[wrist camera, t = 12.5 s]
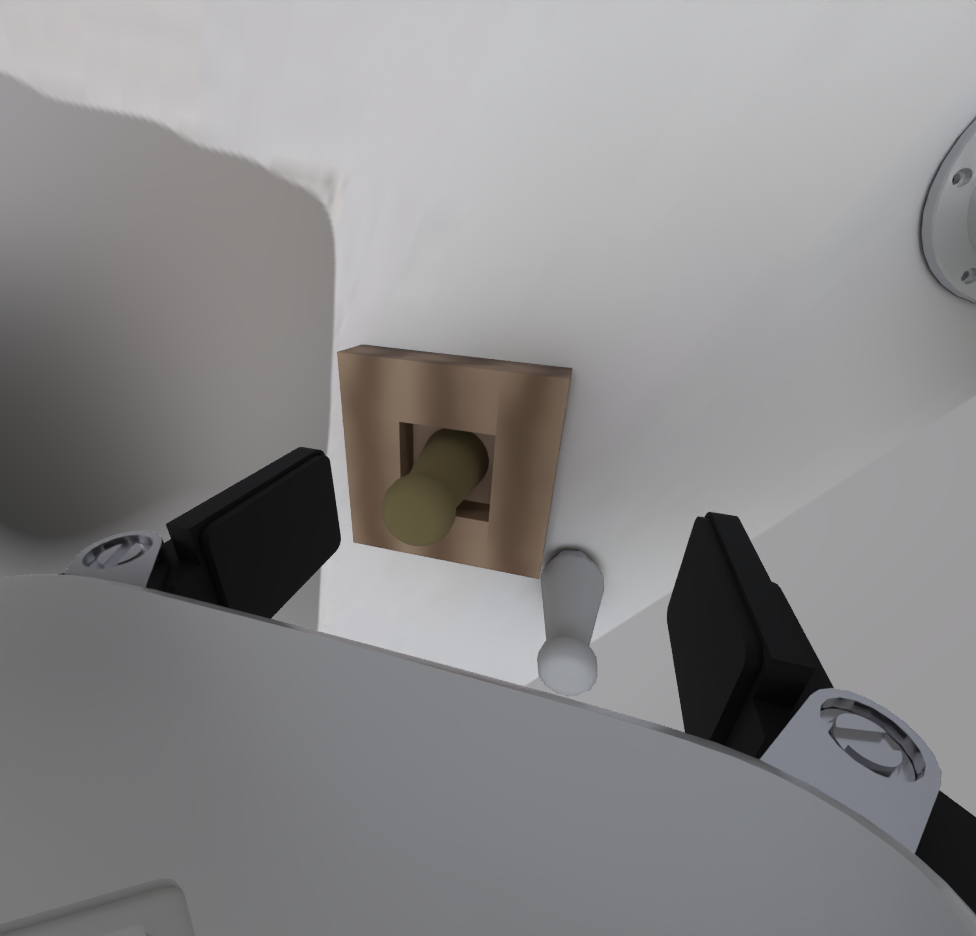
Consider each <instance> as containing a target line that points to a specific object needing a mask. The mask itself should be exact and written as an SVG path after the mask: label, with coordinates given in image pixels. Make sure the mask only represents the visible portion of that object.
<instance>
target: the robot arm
mask: <svg viewBox="0 0 976 936" xmlns="http://www.w3.org/2000/svg"><path fill="white" fill-rule="evenodd" d="M953 177H954V182H953V183H952V179H953ZM921 234H922V242H923V250H924V255H925V257H926V260H927V262H928V265H929V267H930V270H931V271H932V273H933V274H934V275H935V276H936V278H937V279H938V280H939V282H940V283H941V284H942V285H943V286H944V287H946V288H947V289H949V290H950V291H951V292H953V293H954V294H955V295H957V296H959V297H962V298H964V299H967V300H969V301H971V302H974V303H976V119H975V120H974V122H973V123H972V124H971V125H970V126H969V127H968V128H967V130H966V131H965V132H964V133H963V134H962V135H961V136H960V138H959V139H958V141H957V142H956V144H955V145H954V147H953V148H952V150H951V151H950V153H949V154H948V155H947V157H946V158H945V160H944V161H943V163H942V165H941V167H940V169H939V171H938V174H937V176H936V178H935V180H934V182H933V184H932V186H931V188H930V192H929V195H928V198H927V202H926V205H925V208H924V213H923V223H922V232H921ZM962 275H963V277H962ZM166 526H167V529H168V531H169V534H170V537H171V539H170V540H169V541H167V542H165V543H164V542H163V540H162V537H161V536H160V535H159V534H158V533H154V532H152V531H133V532H126V533H122V534H118V535H114V536H111V537H108V538H106V539H103V540H100V541H99V542H96V543H94V544H92V545H90V546H89V547H87V548H86V549H84V550H83V551H82V552H80V553H79V554H78V555H77V556H76V557H75V558H74V559H73V561H72V562H71V564H70V566H69V567H68V569H67V570H66V572H65V573H63V574H58V575H51V574H36V575H23V576H22V575H21V576H9V577H0V936H976V817H975V816H973V815H972V814H970V813H969V812H968V811H967V810H965V809H964V808H963V807H961V806H960V805H959V804H957V803H956V802H954V801H953V800H952V799H950V798H949V797H948V796H946V795H945V794H944V793H942V792H941V791H940V790H939V789H940V787H941V769H940V767H939V765H938V762H937V760H936V757H935V755H934V754H933V752H932V751H931V750H930V748H929V747H928V746H927V745H926V743H925V742H924V740H923V739H922V738H921V737H920V736H919V735H918V734H917V733H916V732H915V731H914V730H913V729H912V728H910V726H909V725H908V724H906V723H905V722H904V721H903V720H901V719H900V718H899V717H897V716H896V715H894V714H893V713H892V712H890V711H889V710H888V709H886V708H885V707H883V706H881V705H879V704H877V703H876V702H874V701H872V700H870V699H868V698H866V697H863V696H861V695H858V694H855V693H853V692H850V691H847V690H840V689H835V688H834V687H833V686H832V684H831V682H830V680H829V678H828V676H827V674H826V672H825V670H824V669H823V667H822V665H821V663H820V661H819V659H818V657H817V655H816V654H815V652H814V650H813V648H812V646H811V644H810V642H809V640H808V639H807V637H806V635H805V633H804V632H803V629H802V628H801V625H800V624H799V622H798V620H797V618H796V616H795V614H794V612H793V610H792V609H791V607H790V605H789V603H788V601H787V599H786V597H785V595H784V594H783V592H782V590H781V588H780V587H779V586H778V584H776V583H773V582H771V580H770V578H769V576H768V574H767V572H766V570H765V568H764V566H763V564H762V562H761V560H760V558H759V556H758V555H757V552H756V551H755V549H754V547H753V545H752V543H751V541H750V539H749V537H748V535H747V533H746V531H745V529H744V527H743V525H742V523H741V521H740V519H739V518H738V517H737V516H732V515H726V514H719V513H713V512H708V513H707V514H706V516H705V518H704V517H697V518H696V520H695V522H694V525H693V528H692V532H691V535H690V538H689V541H688V544H687V548H686V551H685V554H684V557H683V560H682V564H681V567H680V570H679V573H678V576H677V580H676V583H675V586H674V589H673V592H672V596H671V599H670V602H669V606H668V610H667V624H668V630H669V636H670V642H671V648H672V654H673V661H674V667H675V673H676V679H677V685H678V691H679V698H680V704H681V710H682V716H683V722H684V729H685V733H684V732H681V731H678V730H675V729H672V728H669V727H666V726H663V725H659V724H656V723H652V722H649V721H646V720H642V719H639V718H635V717H632V716H628V715H625V714H621V713H618V712H614V711H611V710H607V709H603V708H600V707H597V706H593V705H589V704H586V703H583V702H579V701H576V700H572V699H569V698H565V697H561V696H557V695H554V694H550V693H547V692H542V691H539V690H535V689H532V688H528V687H524V686H521V685H517V684H513V683H510V682H506V681H502V680H499V679H495V678H491V677H488V676H484V675H480V674H476V673H473V672H469V671H465V670H462V669H458V668H454V667H451V666H447V665H443V664H440V663H436V662H432V661H428V660H425V659H421V658H417V657H413V656H409V655H406V654H402V653H398V652H394V651H391V650H387V649H383V648H379V647H376V646H372V645H368V644H364V643H361V642H357V641H353V640H349V639H345V638H342V637H338V636H334V635H330V634H326V633H323V632H319V631H315V630H311V629H307V628H304V627H300V626H296V625H292V624H288V623H284V622H280V621H276V620H273V619H271V618H272V617H273V616H274V614H276V613H277V612H278V611H279V610H280V608H282V607H283V605H284V604H285V603H286V602H287V601H288V600H289V599H290V598H291V597H292V596H293V595H294V594H295V593H296V592H297V591H298V590H299V589H300V588H301V587H302V585H304V584H305V583H306V582H307V581H308V580H309V579H310V577H311V576H312V575H313V574H314V573H315V572H316V571H317V570H318V569H319V568H320V567H321V566H322V565H323V564H324V563H325V562H326V561H327V560H328V559H329V558H330V557H331V556H332V555H333V554H334V553H335V552H336V550H337V549H338V547H339V545H340V541H341V535H340V528H339V521H338V514H337V507H336V500H335V493H334V486H333V479H332V472H331V465H330V460H329V458H328V457H327V456H325V454H324V452H323V451H321V450H317V449H311V448H305V447H299V448H297V449H295V450H293V451H292V452H290V453H288V454H287V455H285V456H283V457H281V458H280V459H278V460H276V461H274V462H273V463H271V464H269V465H267V466H266V467H264V468H262V469H260V470H259V471H257V472H256V473H254V474H252V475H250V476H248V477H247V478H245V479H243V480H241V481H240V482H238V483H236V484H234V485H233V486H231V487H229V488H227V489H226V490H224V491H222V492H221V493H219V494H217V495H215V496H214V497H212V498H210V499H208V500H207V501H205V502H203V503H201V504H200V505H198V506H196V507H195V508H193V509H191V510H189V511H188V512H186V513H184V514H183V515H181V516H179V517H177V518H175V519H174V520H172V521H170V522H169V523H167V524H166Z"/></svg>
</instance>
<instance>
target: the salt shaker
mask: <svg viewBox="0 0 976 936" xmlns="http://www.w3.org/2000/svg"><path fill="white" fill-rule="evenodd" d="M541 588H542V598H543V609H544V619H545V630H546V641H545V643H544V644H543V646H542V648H541V649H540V651H539V653H538V658H537V662H538V673H539V677H540V679H541V680H542V681H543V683H544V684H545V685H546V686H547V687H548V688H549V689H551V690H553V691H554V692H556V693H558V694H562V695H566V696H575V695H580V694H582V693H584V692H586V691H589V690H591V688H592V687H593V685H594V683H595V682H596V679H597V659H596V656H595V654H594V652H593V651H592V649H591V648H590V646H589V645H590V641H591V637H592V633H593V630H594V626H595V622H596V618H597V614H598V610H599V607H600V603H601V599H602V595H603V591H604V577H603V575H602V573H601V571H600V570H599V568H598V567H597V565H596V564H595V563H594V562H593V561H591V560H590V559H589V558H588V557H587V556H586V555H585V554H584V553H583V552H582V551H572V550H562V551H561V552H560V553H559V554H558V555H557V556H556V557H555V558H553V559H552V560H550V561H549V562H547V564H546V566H545V567H544V569H543V571H542V573H541Z"/></svg>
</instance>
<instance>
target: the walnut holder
mask: <svg viewBox="0 0 976 936" xmlns="http://www.w3.org/2000/svg"><path fill="white" fill-rule="evenodd" d="M337 356H338V367H339V379H340V391H341V402H342V414H343V425H344V437H345V449H346V460H347V472H348V484H349V495H350V507H351V518H352V530H353V542H354V543H359V544H364V545H369V546H374V547H379V548H385V549H390V550H395V551H400V552H405V553H410V554H415V555H420V556H425V557H430V558H435V559H440V560H445V561H450V562H455V563H460V564H465V565H470V566H476V567H481V568H486V569H491V570H496V571H501V572H506V573H511V574H516V575H521V576H526V577H531V578H536V579H539V577H540V570H541V564H542V558H543V552H544V545H545V539H546V532H547V526H548V520H549V513H550V507H551V500H552V494H553V488H554V481H555V475H556V468H557V462H558V456H559V449H560V443H561V436H562V430H563V424H564V417H565V411H566V404H567V398H568V392H569V385H570V379H571V372H572V368H564V367H556V366H547V365H538V364H529V363H520V362H511V361H503V360H494V359H485V358H476V357H467V356H458V355H449V354H441V353H432V352H423V351H414V350H405V349H396V348H388V347H379V346H370V345H359V346H356V347H352V348H349V349H346V350H342V351H339V352H337ZM442 428H447V429H454V430H460V431H467V432H472V433H474V434H475V435H476V436H477V437H478V438H479V439H480V440H481V441H482V442H483V444H484V446H485V447H486V449H487V452H488V457H489V465H488V470H487V472H486V474H485V476H484V478H483V479H482V480H481V481H480V482H479V483H478V485H477V486H476V487H475V488H474V489H473V490H472V491H471V492H470V493H469V494H468V495H467V496H466V498H465V499H464V500H463V501H462V502H461V503H460V504H459V505H458V506H457V507H456V516H455V521H454V523H453V525H452V527H451V529H450V531H449V533H448V534H447V535H446V536H444V537H443V538H442V539H441V540H440V541H438V542H437V543H434V544H431V545H428V546H412V545H408V544H405V543H404V542H402V541H400V540H398V539H397V538H396V537H394V536H393V535H392V534H391V533H390V532H389V530H388V529H387V527H386V526H385V523H384V520H383V517H382V501H383V498H384V496H385V493H386V491H387V489H388V488H389V487H390V486H391V485H392V484H393V483H394V482H395V481H396V480H397V479H399V478H401V477H404V476H406V475H408V474H409V473H410V472H411V470H412V468H413V466H414V464H415V462H416V461H417V459H418V457H419V455H420V453H421V452H422V450H423V448H424V446H425V444H426V443H427V441H428V439H429V438H430V437H431V436H432V435H433V434H434V433H435V432H436V431H438V430H440V429H442Z"/></svg>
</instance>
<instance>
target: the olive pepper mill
mask: <svg viewBox="0 0 976 936" xmlns="http://www.w3.org/2000/svg"><path fill="white" fill-rule="evenodd" d="M488 465H489V457H488V452H487V449H486V447H485V446H484V444H483V442H482V441H481V440H480V439H479V438H478V437H477V436H476V435H475V434H474V433H472V432H467V431H460V430H454V429H447V428H442V429H440V430H438V431H436V432H435V433H434V434H433V435H432V436H431V437H430V438H429V439H428V441H427V443H426V444H425V446H424V448H423V450H422V452H421V453H420V455H419V457H418V459H417V461H416V462H415V464H414V466H413V468H412V470H411V472H410V473H409V474H408V475H406V476H404V477H401V478H399V479H397V480H396V481H395V482H394V483H393V484H392V485H391V486H390V487H389V488H388V489H387V491H386V493H385V496H384V498H383V501H382V517H383V520H384V523H385V526H386V527H387V529H388V530H389V532H390V533H391V534H392V535H393V536H394V537H396V538H397V539H398V540H400V541H402V542H404V543H405V544H408V545H412V546H428V545H431V544H434V543H437V542H438V541H440V540H441V539H442V538H443V537H444V536H446V535H447V534H448V533H449V531H450V529H451V527H452V525H453V523H454V521H455V516H456V507H457V506H458V505H459V504H460V503H461V502H462V501H463V500H464V499H465V498H466V496H467V495H468V494H469V493H470V492H471V491H472V490H473V489H474V488H475V487H476V486H477V485H478V483H479V482H480V481H481V480H482V479H483V478H484V476H485V474H486V472H487V470H488Z"/></svg>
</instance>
